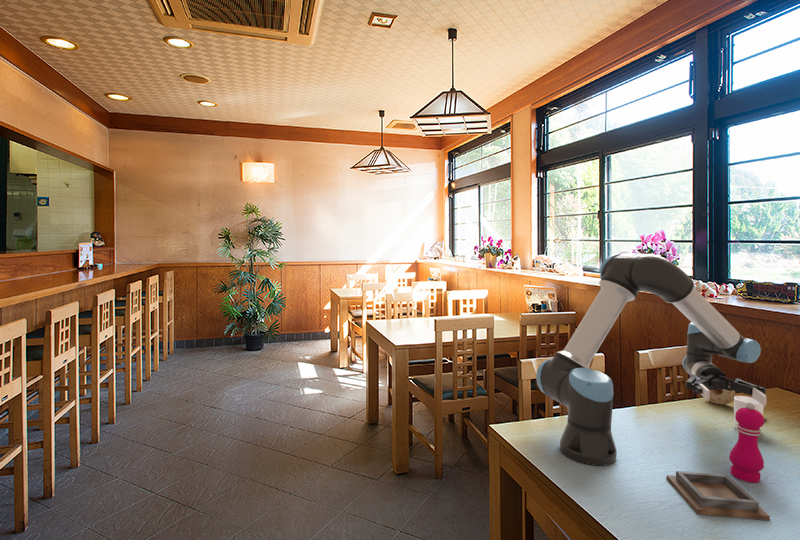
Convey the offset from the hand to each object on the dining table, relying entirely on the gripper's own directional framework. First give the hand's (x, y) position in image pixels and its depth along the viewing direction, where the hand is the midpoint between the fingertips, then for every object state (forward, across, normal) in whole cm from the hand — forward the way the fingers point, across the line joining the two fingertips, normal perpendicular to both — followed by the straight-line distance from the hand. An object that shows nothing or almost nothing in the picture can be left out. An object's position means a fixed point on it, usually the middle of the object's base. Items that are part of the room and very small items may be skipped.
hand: (736, 398), depth 126 cm
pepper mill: (+10, +1, -18) cm, 21 cm away
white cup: (-26, -13, -18) cm, 34 cm away
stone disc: (-50, -13, -19) cm, 55 cm away
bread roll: (-39, -19, -19) cm, 47 cm away
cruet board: (+24, +12, -18) cm, 32 cm away
